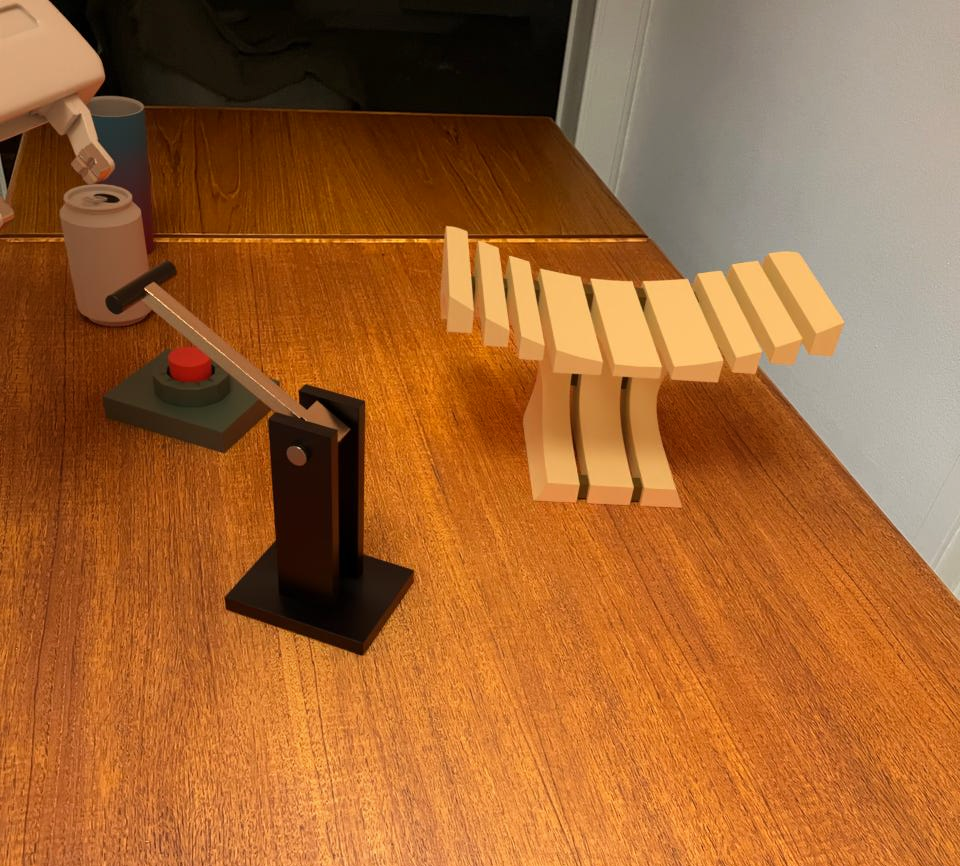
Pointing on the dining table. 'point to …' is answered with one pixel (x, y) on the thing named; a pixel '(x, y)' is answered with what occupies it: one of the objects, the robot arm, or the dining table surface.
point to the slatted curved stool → (627, 355)
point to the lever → (214, 345)
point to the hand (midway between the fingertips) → (56, 200)
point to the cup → (126, 151)
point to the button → (189, 365)
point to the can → (104, 249)
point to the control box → (186, 405)
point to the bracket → (320, 535)
